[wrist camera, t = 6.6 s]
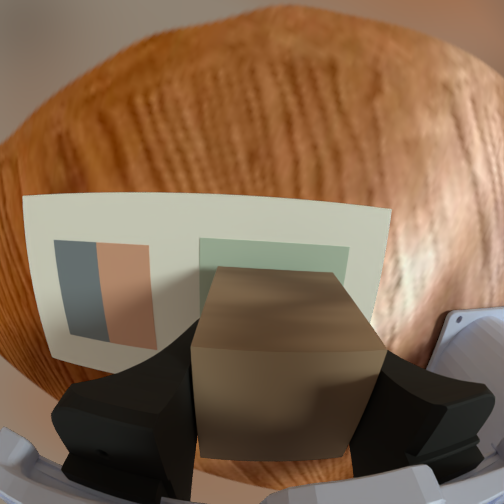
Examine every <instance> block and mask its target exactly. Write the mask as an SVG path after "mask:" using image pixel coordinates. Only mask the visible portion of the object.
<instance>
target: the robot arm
mask: <svg viewBox="0 0 504 504" xmlns="http://www.w3.org/2000/svg"><path fill="white" fill-rule="evenodd" d="M457 318H458V319H457ZM199 319H200V318H199ZM199 319H197V320H196V321H195V322H194V323H193V324H192V325H191V326H190V327H189V328H188V329H187V330H186V331H185V332H184V333H183V334H181V335H180V336H179V337H178V338H177V339H176V340H174V341H173V342H172V343H171V344H169V345H168V346H167V347H166V348H164V349H163V350H162V351H160V352H159V353H157V354H156V355H154V356H152V357H151V358H149V359H147V360H145V361H144V362H142V363H140V364H137V365H135V366H133V367H131V368H128V369H126V370H124V371H121V372H119V373H116V374H113V375H110V376H106V377H103V378H99V379H95V380H90V381H85V382H80V383H74V384H71V386H70V387H69V388H68V389H67V391H66V392H65V393H64V395H63V396H62V398H61V399H60V401H59V402H58V404H57V405H56V407H55V408H54V410H53V412H52V413H51V418H52V422H53V425H54V427H55V430H56V431H57V433H58V435H59V436H60V438H61V440H62V441H63V443H64V445H65V446H66V448H67V449H68V451H69V454H68V457H67V458H66V460H65V462H64V464H63V466H62V465H60V464H57V463H55V462H53V461H51V460H49V459H47V458H45V457H43V456H41V455H39V453H38V451H37V450H36V448H35V447H34V446H33V444H32V443H31V442H30V441H28V440H27V439H26V438H24V437H23V436H20V435H19V434H17V433H15V432H14V431H12V430H10V429H8V428H7V427H3V428H2V429H1V430H0V498H1V499H2V500H3V501H4V502H6V503H7V504H205V503H196V502H190V498H191V486H192V477H193V467H194V459H195V451H196V443H197V436H198V432H197V423H196V412H195V402H194V390H193V377H192V362H191V344H192V341H193V338H194V335H195V332H196V328H197V325H198V322H199ZM349 446H350V452H351V459H352V466H353V475H354V478H352V479H346V480H339V481H331V482H322V483H313V484H307V485H301V486H295V487H289V488H286V489H283V490H281V491H278V492H275V493H272V494H270V495H269V496H267V497H266V498H265V499H264V500H263V501H262V502H261V503H260V504H504V306H503V307H492V308H481V309H467V310H453V311H451V312H449V313H448V315H447V316H446V319H445V322H444V325H443V327H442V330H441V333H440V336H439V339H438V341H437V344H436V347H435V349H434V352H433V354H432V357H431V359H430V361H429V364H428V366H427V368H426V370H425V369H423V368H420V367H418V366H416V365H414V364H412V363H410V362H408V361H406V360H404V359H402V358H400V357H398V356H397V355H395V354H393V353H392V352H390V351H389V350H387V353H386V356H385V359H384V362H383V364H382V367H381V370H380V373H379V375H378V378H377V381H376V383H375V386H374V388H373V391H372V393H371V396H370V398H369V401H368V403H367V405H366V408H365V410H364V412H363V415H362V417H361V419H360V421H359V424H358V426H357V428H356V430H355V432H354V434H353V436H352V438H351V440H350V442H349Z"/></svg>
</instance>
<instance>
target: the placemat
mask: <svg viewBox="0 0 504 504" xmlns="http://www.w3.org/2000/svg"><path fill="white" fill-rule="evenodd" d="M391 211H392V209H387V208H379V207H371V206H363V205H354V204H345V203H335V202H325V201H314V200H303V199H291V198H277V197H263V196H247V195H227V194H204V193H165V192H104V193H68V194H46V195H29V196H23V213H24V226H25V236H26V245H27V253H28V260H29V266H30V272H31V278H32V283H33V288H34V293H35V297H36V302H37V306H38V310H39V314H40V318H41V322H42V326H43V329H44V333H45V336H46V340H47V343H48V346H49V349H50V352H51V355H52V358H56V359H59V360H62V361H66V362H69V363H73V364H77V365H80V366H84V367H88V368H92V369H96V370H101V371H105V372H110V373H114V374H116V373H119V372H121V371H124V370H126V369H128V368H131V367H133V366H135V365H137V364H140V363H142V362H144V361H145V360H147V359H149V358H151V357H152V356H154V355H156V354H157V353H159V352H160V351H162V350H163V349H164V348H166V347H167V346H168V345H169V344H171V343H172V342H173V341H174V340H176V339H177V338H178V337H179V336H180V335H181V334H183V333H184V332H185V331H186V330H187V329H188V328H189V327H190V326H191V325H192V324H193V323H194V322H195V321H196V320H197V319H199V318H200V317H201V314H202V311H203V308H204V305H205V302H206V299H207V296H208V293H209V290H210V287H211V284H212V281H213V278H214V276H215V273H216V270H217V267H218V266H224V267H240V268H258V269H275V270H294V271H314V272H333V273H334V275H335V276H336V277H337V279H338V280H339V281H340V283H341V284H342V286H343V287H344V288H345V290H346V291H347V292H348V294H349V295H350V297H351V298H352V299H353V301H354V302H355V304H356V305H357V306H358V308H359V309H360V311H361V312H362V313H363V315H364V316H365V318H366V319H367V320H368V322H369V323H370V321H371V317H372V313H373V309H374V305H375V300H376V296H377V292H378V287H379V282H380V277H381V272H382V267H383V262H384V257H385V251H386V245H387V239H388V232H389V226H390V218H391Z"/></svg>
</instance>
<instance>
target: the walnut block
mask: <svg viewBox="0 0 504 504" xmlns="http://www.w3.org/2000/svg"><path fill="white" fill-rule="evenodd" d="M386 353H387V348H386V347H385V345H384V344H383V342H382V341H381V339H380V338H379V336H378V335H377V333H376V332H375V331H374V329H373V328H372V326H371V325H370V323H369V322H368V320H367V319H366V318H365V316H364V315H363V313H362V312H361V311H360V309H359V308H358V306H357V305H356V304H355V302H354V301H353V299H352V298H351V297H350V295H349V294H348V292H347V291H346V290H345V288H344V287H343V286H342V284H341V283H340V281H339V280H338V279H337V277H336V276H335V275H334V273H333V272H314V271H294V270H275V269H258V268H240V267H224V266H218V267H217V270H216V273H215V276H214V278H213V281H212V284H211V287H210V290H209V293H208V296H207V299H206V302H205V305H204V308H203V311H202V314H201V317H200V319H199V322H198V325H197V328H196V332H195V335H194V338H193V341H192V344H191V362H192V377H193V390H194V402H195V412H196V423H197V432H198V441H199V449H200V457H202V458H211V459H222V460H237V461H302V460H317V459H328V458H337V457H342V456H343V454H344V452H345V450H346V448H347V446H348V444H349V442H350V440H351V438H352V436H353V434H354V432H355V430H356V428H357V426H358V424H359V421H360V419H361V417H362V415H363V412H364V410H365V408H366V405H367V403H368V401H369V398H370V396H371V393H372V391H373V388H374V386H375V383H376V381H377V378H378V375H379V373H380V370H381V367H382V364H383V362H384V359H385V356H386Z"/></svg>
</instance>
